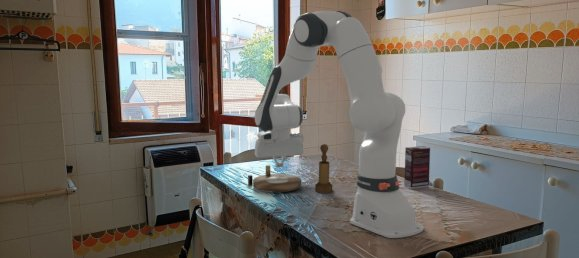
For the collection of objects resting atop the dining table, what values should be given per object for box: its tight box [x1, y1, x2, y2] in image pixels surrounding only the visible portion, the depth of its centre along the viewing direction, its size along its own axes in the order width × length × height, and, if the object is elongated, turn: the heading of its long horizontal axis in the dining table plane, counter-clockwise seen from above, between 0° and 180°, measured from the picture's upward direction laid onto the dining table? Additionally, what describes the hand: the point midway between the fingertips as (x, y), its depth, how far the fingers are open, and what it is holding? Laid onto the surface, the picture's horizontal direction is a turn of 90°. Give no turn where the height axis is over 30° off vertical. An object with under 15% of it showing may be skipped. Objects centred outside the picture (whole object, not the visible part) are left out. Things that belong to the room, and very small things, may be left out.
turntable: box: [252, 164, 302, 193], centre depth 162 cm, size 19×19×6 cm
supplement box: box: [403, 145, 431, 190], centre depth 162 cm, size 9×5×16 cm, turn 109°
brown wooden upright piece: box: [314, 143, 333, 194], centre depth 157 cm, size 7×6×18 cm
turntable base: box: [247, 174, 254, 187], centre depth 163 cm, size 15×15×4 cm
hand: (279, 166), depth 170 cm, fingers closed
